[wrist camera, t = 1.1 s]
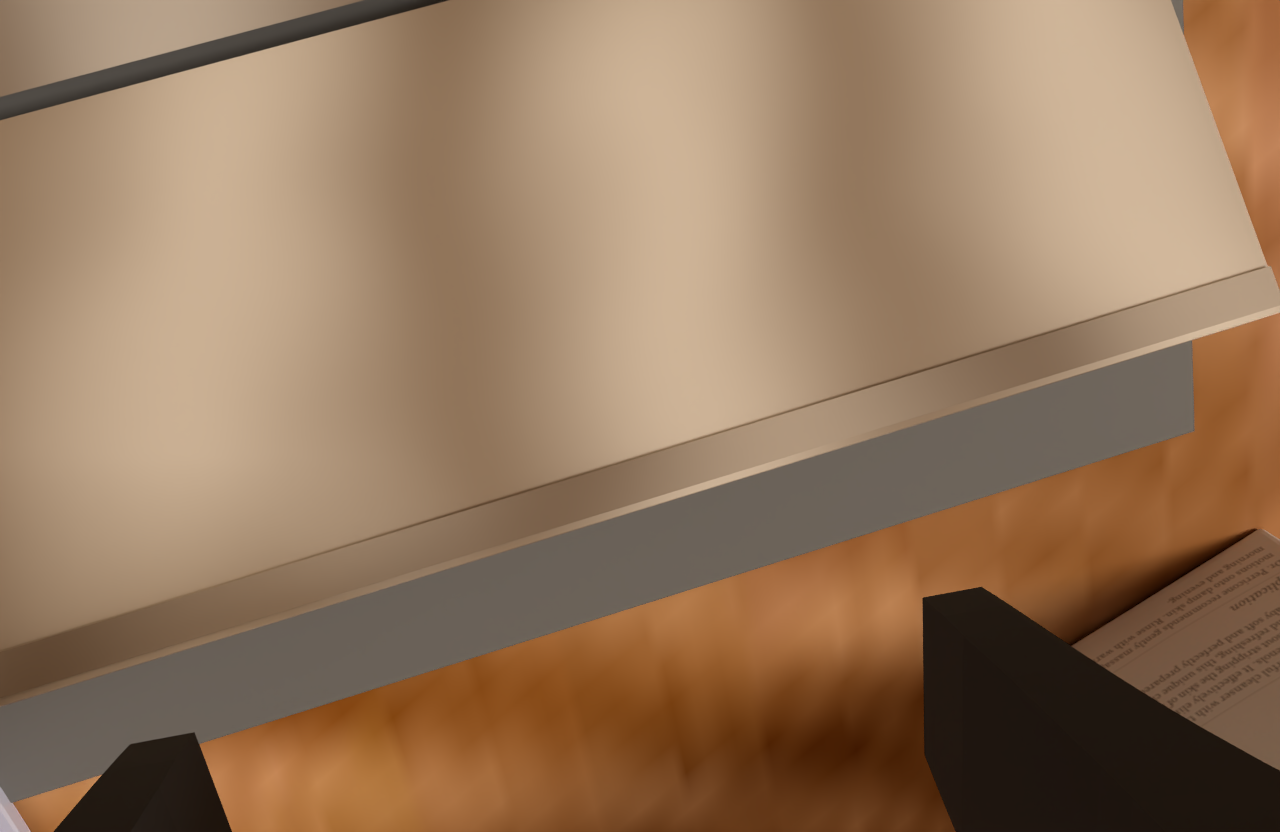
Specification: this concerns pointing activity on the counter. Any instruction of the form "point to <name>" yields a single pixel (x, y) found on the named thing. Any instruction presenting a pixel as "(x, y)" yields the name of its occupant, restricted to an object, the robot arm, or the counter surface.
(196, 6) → the laid plank
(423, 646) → the underlay mat
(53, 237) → the loose plank
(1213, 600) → the skincare box
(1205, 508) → the counter surface
